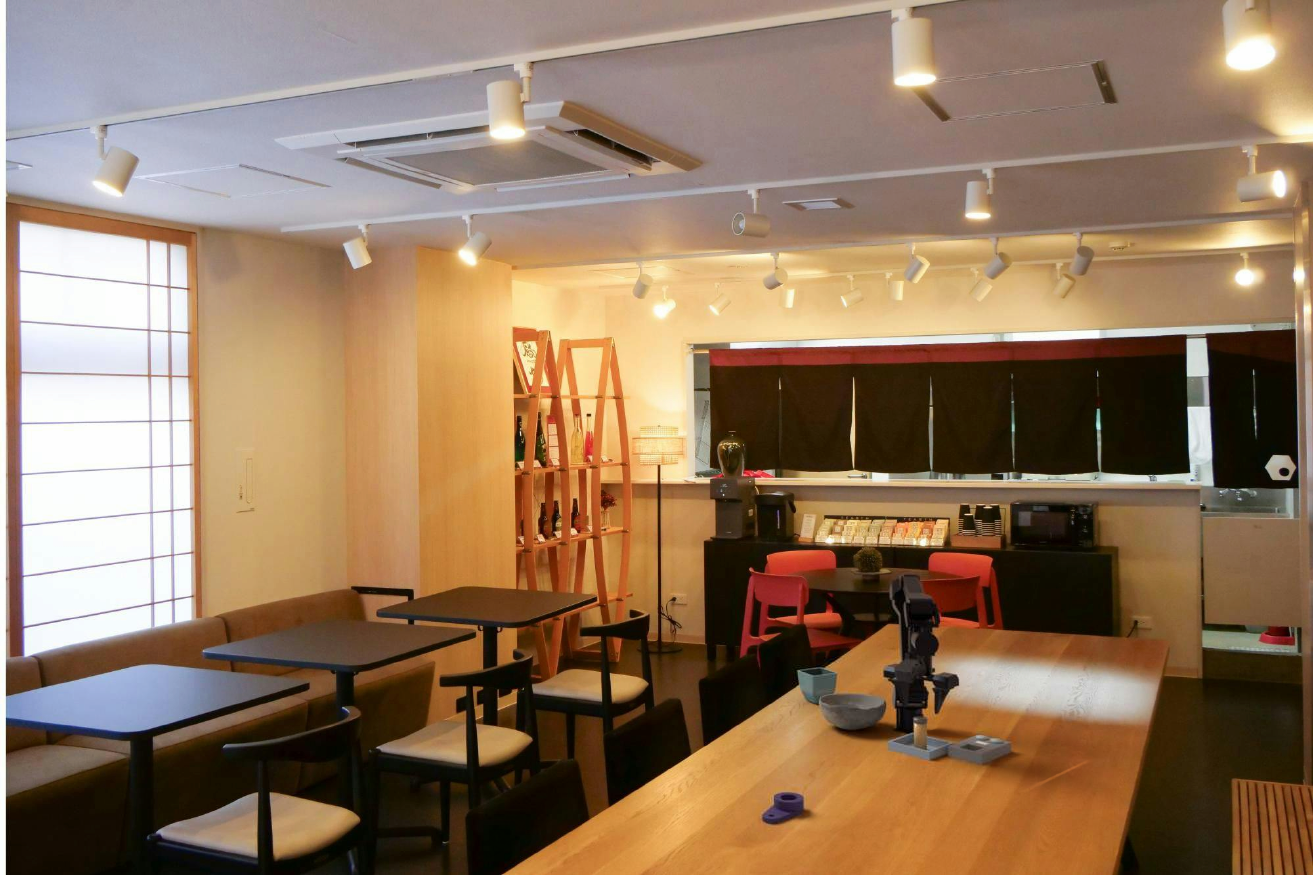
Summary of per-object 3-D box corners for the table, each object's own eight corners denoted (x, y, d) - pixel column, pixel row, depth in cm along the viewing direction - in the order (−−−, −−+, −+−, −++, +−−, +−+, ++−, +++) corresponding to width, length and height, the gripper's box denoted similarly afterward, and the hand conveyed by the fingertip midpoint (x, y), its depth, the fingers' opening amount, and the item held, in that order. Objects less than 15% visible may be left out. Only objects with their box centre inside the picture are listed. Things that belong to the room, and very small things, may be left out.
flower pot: (796, 699, 317) (796, 669, 317) (821, 696, 321) (821, 666, 321) (813, 706, 309) (812, 675, 309) (838, 703, 313) (838, 672, 313)
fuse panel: (948, 758, 260) (948, 743, 260) (978, 746, 269) (978, 732, 269) (981, 766, 253) (981, 752, 253) (1010, 754, 263) (1010, 740, 263)
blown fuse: (910, 749, 265) (910, 718, 265) (918, 747, 267) (918, 715, 267) (922, 752, 263) (922, 720, 263) (930, 750, 265) (930, 718, 265)
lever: (783, 804, 229) (783, 790, 229) (809, 811, 225) (809, 796, 225) (753, 820, 220) (753, 805, 220) (779, 827, 216) (779, 812, 216)
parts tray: (887, 751, 266) (887, 741, 266) (912, 742, 273) (912, 732, 273) (929, 762, 257) (929, 751, 257) (953, 752, 264) (953, 742, 264)
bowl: (882, 719, 295) (882, 690, 295) (890, 737, 277) (890, 707, 277) (817, 718, 297) (817, 689, 297) (820, 736, 279) (820, 706, 279)
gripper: (870, 647, 266) (870, 709, 266) (934, 658, 252) (935, 723, 252) (895, 641, 274) (896, 701, 274) (960, 651, 260) (960, 715, 260)
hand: (920, 710), depth 265 cm, fingers open, 9 cm apart
